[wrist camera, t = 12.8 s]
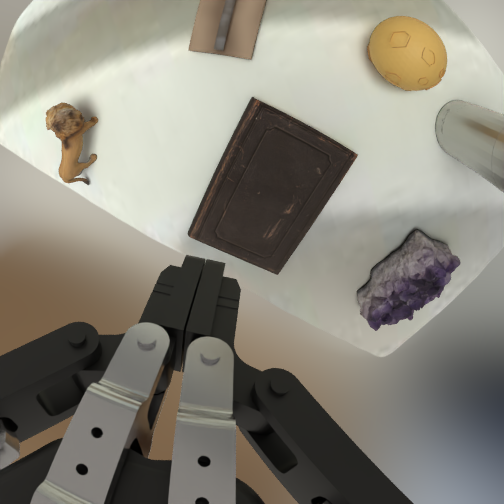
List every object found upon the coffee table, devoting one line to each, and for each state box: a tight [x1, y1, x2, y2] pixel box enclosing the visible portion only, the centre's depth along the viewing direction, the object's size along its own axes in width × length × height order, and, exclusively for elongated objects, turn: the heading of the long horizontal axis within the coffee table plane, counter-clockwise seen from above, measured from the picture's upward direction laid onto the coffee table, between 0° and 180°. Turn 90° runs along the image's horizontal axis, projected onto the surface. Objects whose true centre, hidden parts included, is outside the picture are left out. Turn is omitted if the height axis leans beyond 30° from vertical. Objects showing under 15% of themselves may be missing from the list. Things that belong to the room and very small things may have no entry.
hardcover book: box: [188, 97, 358, 275], centre depth 43 cm, size 16×23×2 cm
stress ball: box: [367, 16, 447, 91], centre depth 26 cm, size 10×10×10 cm
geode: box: [357, 230, 460, 331], centre depth 46 cm, size 20×12×10 cm, turn 145°
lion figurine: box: [46, 103, 98, 185], centre depth 36 cm, size 15×5×9 cm, turn 175°
